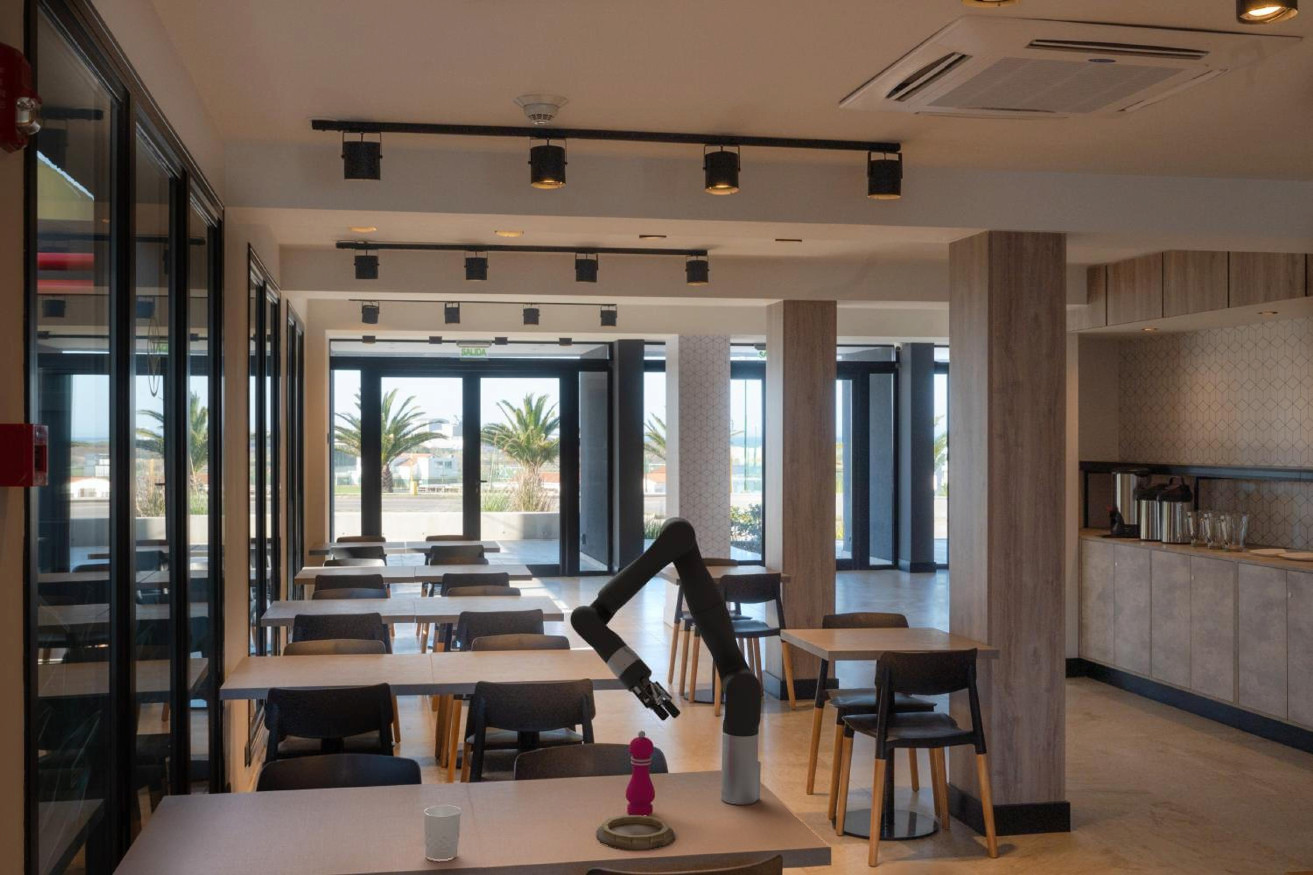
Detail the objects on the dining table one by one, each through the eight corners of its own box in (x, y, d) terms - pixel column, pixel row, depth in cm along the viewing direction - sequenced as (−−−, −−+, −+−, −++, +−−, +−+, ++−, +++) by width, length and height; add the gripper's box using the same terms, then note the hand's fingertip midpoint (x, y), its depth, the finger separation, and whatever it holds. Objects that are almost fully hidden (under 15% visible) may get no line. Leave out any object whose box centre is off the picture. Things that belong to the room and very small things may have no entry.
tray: (640, 818, 283) (641, 808, 283) (690, 839, 269) (690, 828, 269) (580, 833, 272) (580, 822, 272) (629, 855, 258) (629, 844, 258)
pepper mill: (651, 818, 284) (653, 735, 284) (622, 815, 285) (624, 733, 285) (657, 809, 291) (659, 728, 291) (628, 806, 292) (630, 726, 292)
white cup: (425, 850, 258) (426, 804, 258) (461, 850, 259) (462, 804, 259) (421, 863, 251) (422, 816, 251) (458, 862, 251) (459, 816, 251)
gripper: (628, 658, 286) (673, 708, 280) (649, 656, 299) (691, 704, 294) (608, 680, 287) (652, 730, 281) (629, 677, 300) (671, 725, 295)
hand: (672, 716), depth 288 cm, fingers open, 8 cm apart
